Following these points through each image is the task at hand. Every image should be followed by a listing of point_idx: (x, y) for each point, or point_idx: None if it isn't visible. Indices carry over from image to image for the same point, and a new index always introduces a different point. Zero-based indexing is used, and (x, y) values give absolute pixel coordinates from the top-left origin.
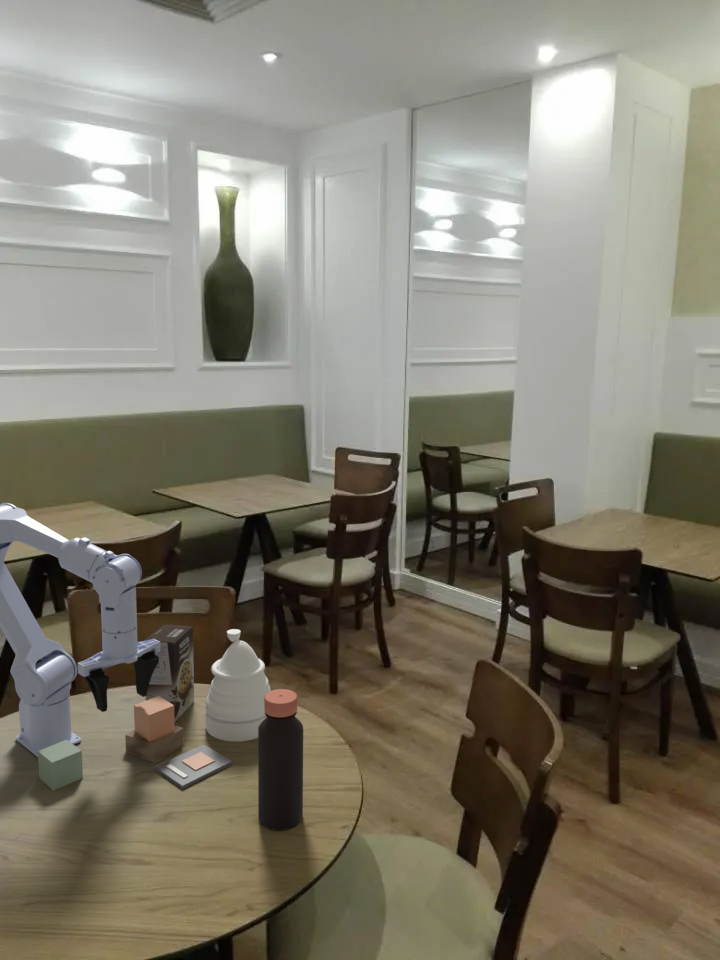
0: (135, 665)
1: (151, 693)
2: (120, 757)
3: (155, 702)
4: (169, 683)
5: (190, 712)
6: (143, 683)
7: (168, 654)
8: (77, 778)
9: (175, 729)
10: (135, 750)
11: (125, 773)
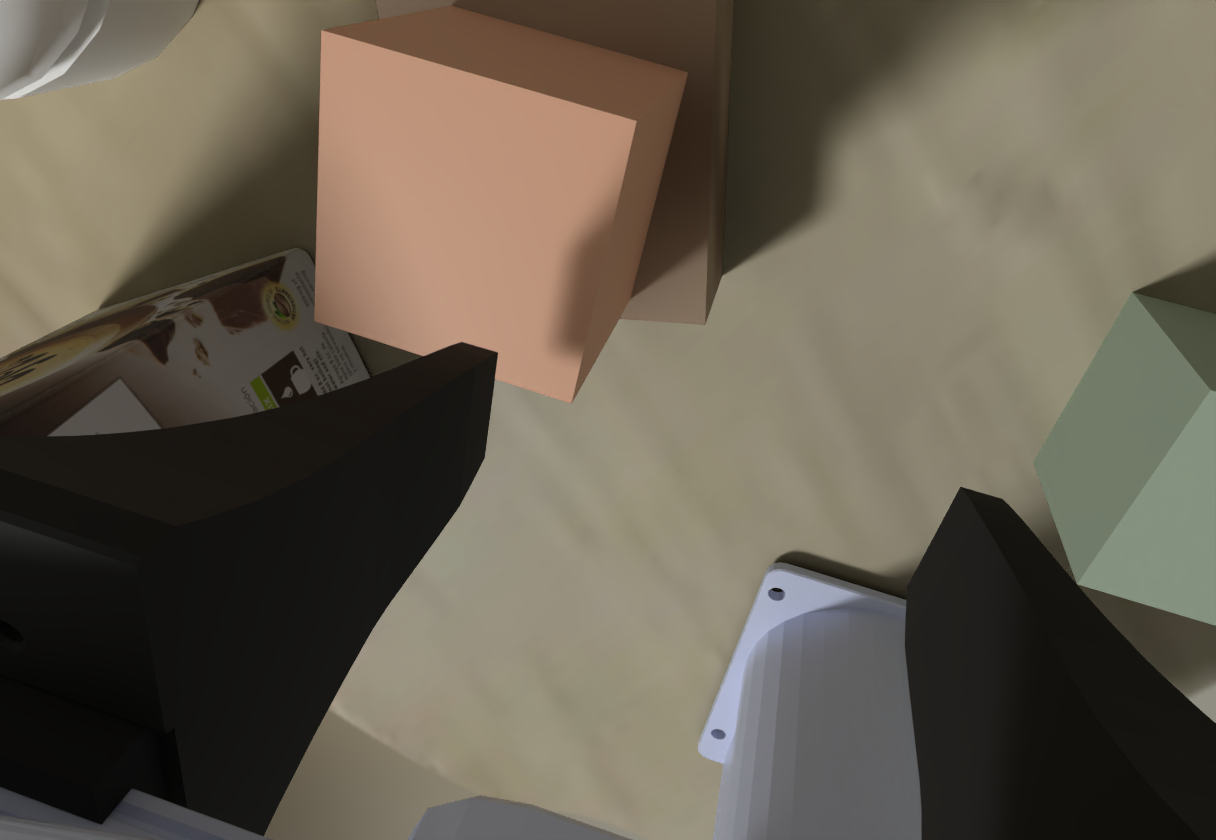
0: (309, 719)
1: None
2: (799, 253)
3: (411, 258)
4: (127, 402)
5: (172, 245)
6: (419, 435)
7: None
8: (1178, 308)
9: None
10: (720, 194)
11: (963, 61)
